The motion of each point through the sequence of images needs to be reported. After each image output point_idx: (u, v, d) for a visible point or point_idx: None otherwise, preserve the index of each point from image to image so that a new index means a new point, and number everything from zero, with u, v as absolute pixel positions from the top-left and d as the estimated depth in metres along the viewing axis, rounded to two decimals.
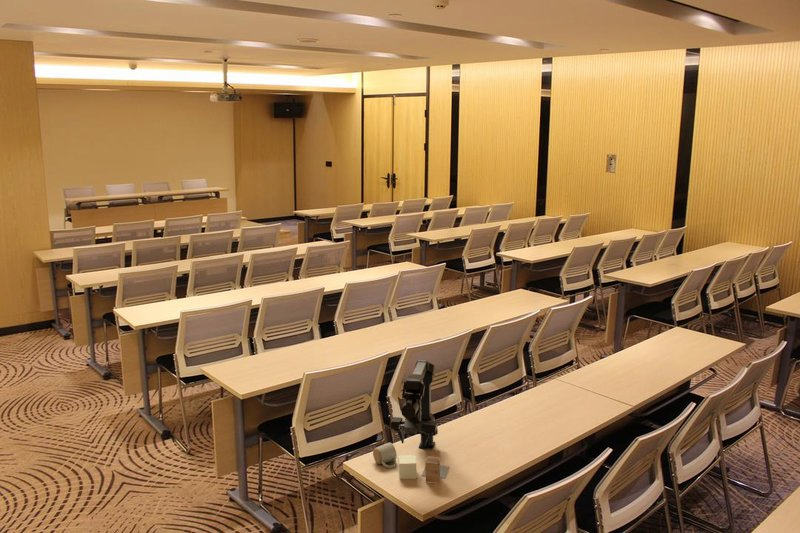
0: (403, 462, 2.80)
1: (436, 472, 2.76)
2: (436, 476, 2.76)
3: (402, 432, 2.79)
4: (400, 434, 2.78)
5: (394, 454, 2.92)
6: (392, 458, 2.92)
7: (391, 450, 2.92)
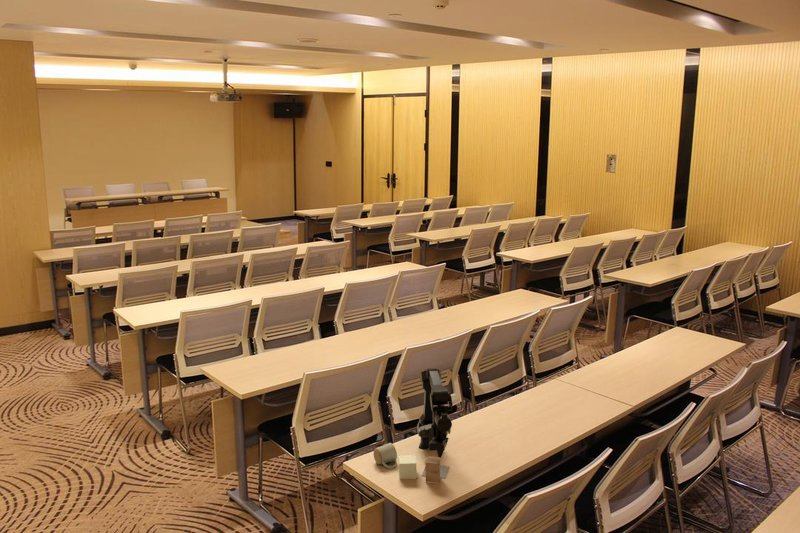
0: (403, 462, 2.80)
1: (436, 472, 2.76)
2: (436, 476, 2.76)
3: None
4: None
5: (394, 454, 2.92)
6: (392, 458, 2.92)
7: (391, 451, 2.92)
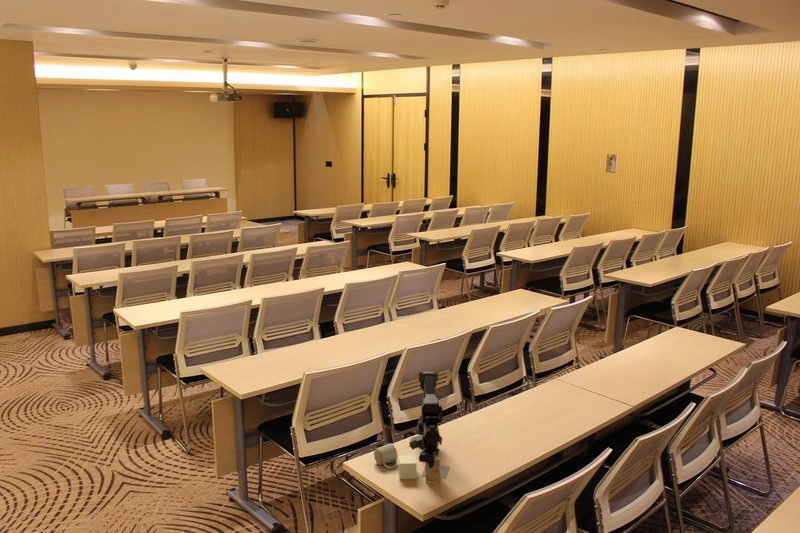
0: (403, 462, 2.80)
1: (436, 472, 2.76)
2: (436, 476, 2.76)
3: None
4: None
5: (395, 455, 2.92)
6: (393, 459, 2.92)
7: (392, 451, 2.91)
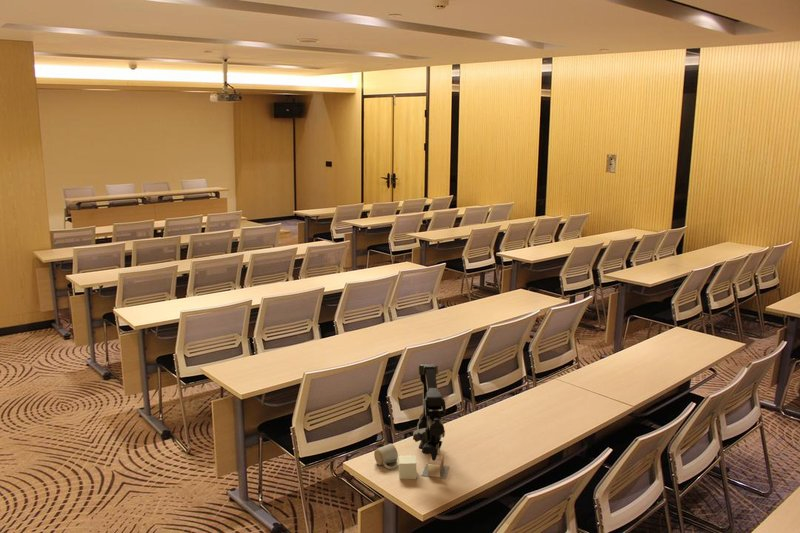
0: (403, 462, 2.80)
1: (440, 459, 2.85)
2: (440, 462, 2.84)
3: None
4: None
5: (395, 455, 2.91)
6: (393, 459, 2.91)
7: (392, 452, 2.91)
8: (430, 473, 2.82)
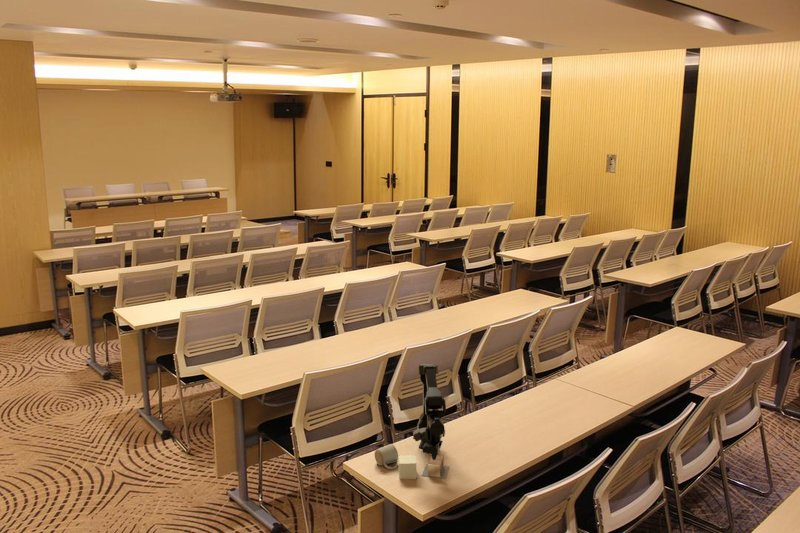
0: (403, 462, 2.80)
1: (440, 459, 2.85)
2: (440, 462, 2.84)
3: None
4: None
5: (396, 455, 2.91)
6: (394, 459, 2.91)
7: (393, 452, 2.91)
8: (430, 473, 2.82)
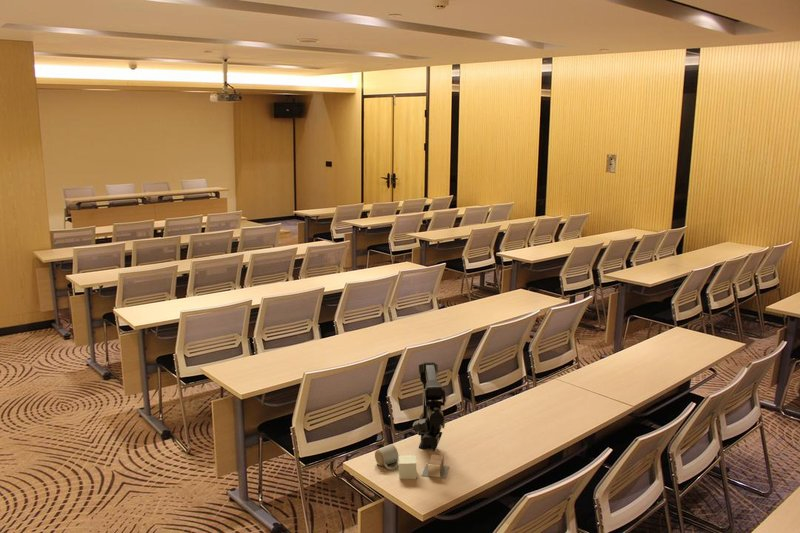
0: (403, 462, 2.80)
1: (440, 459, 2.85)
2: (440, 462, 2.84)
3: None
4: None
5: (396, 456, 2.91)
6: (394, 460, 2.91)
7: (393, 452, 2.91)
8: (430, 473, 2.82)
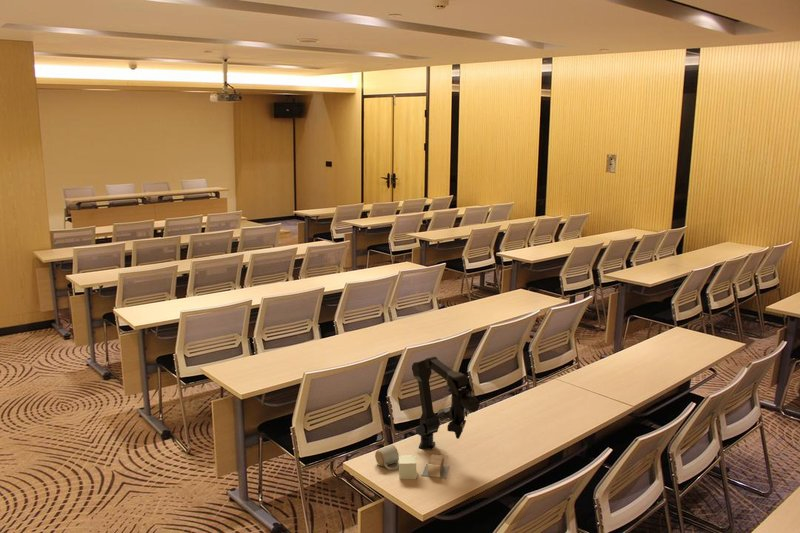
0: (403, 462, 2.80)
1: (440, 459, 2.85)
2: (440, 462, 2.84)
3: None
4: None
5: (396, 456, 2.91)
6: (394, 460, 2.91)
7: (393, 452, 2.90)
8: (430, 473, 2.82)
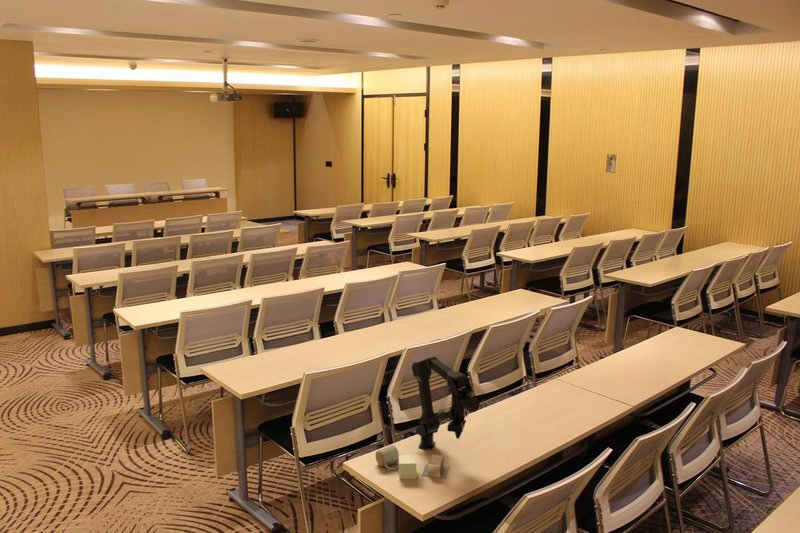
0: (403, 462, 2.80)
1: (440, 459, 2.85)
2: (440, 462, 2.84)
3: None
4: None
5: (397, 456, 2.90)
6: (395, 460, 2.90)
7: (394, 453, 2.90)
8: (430, 473, 2.82)
